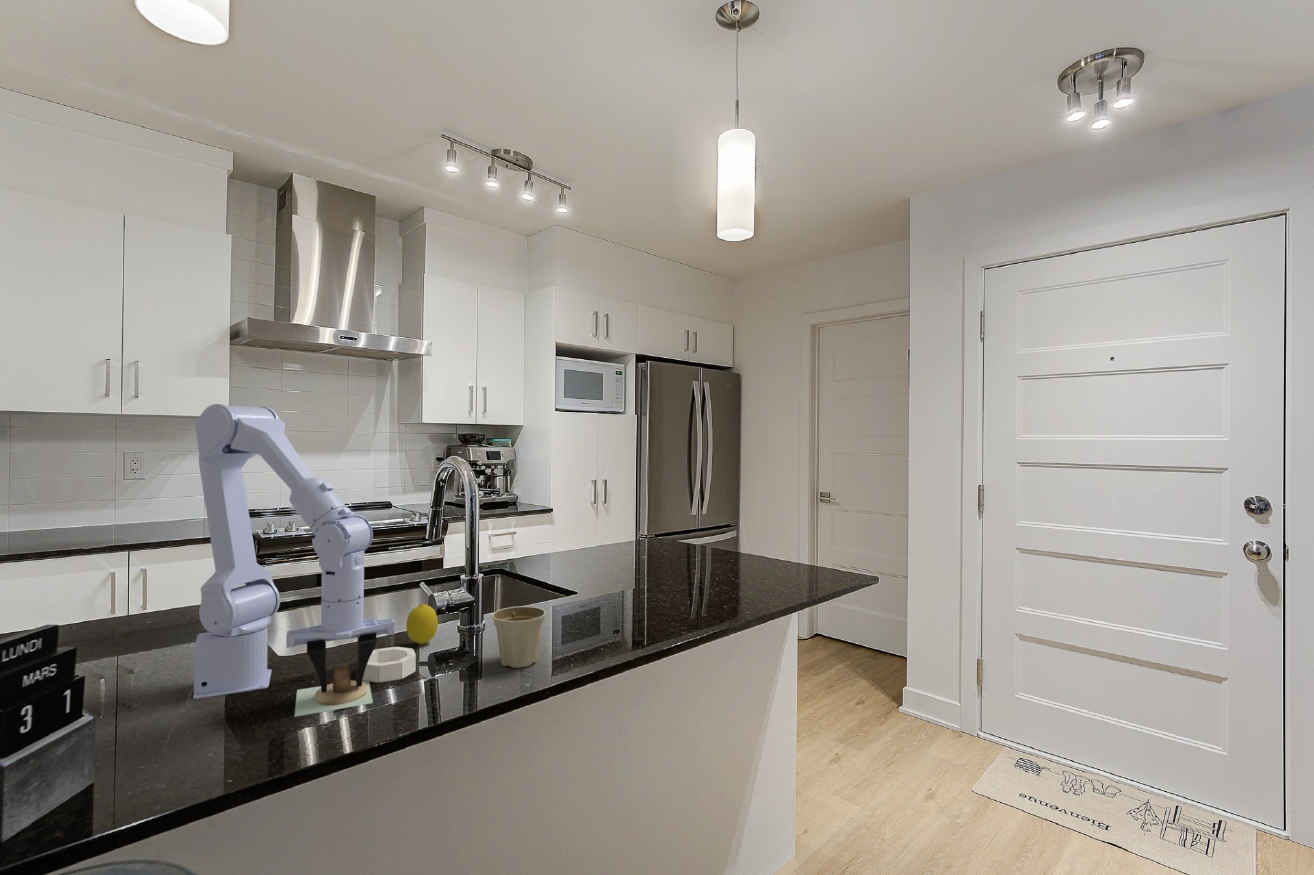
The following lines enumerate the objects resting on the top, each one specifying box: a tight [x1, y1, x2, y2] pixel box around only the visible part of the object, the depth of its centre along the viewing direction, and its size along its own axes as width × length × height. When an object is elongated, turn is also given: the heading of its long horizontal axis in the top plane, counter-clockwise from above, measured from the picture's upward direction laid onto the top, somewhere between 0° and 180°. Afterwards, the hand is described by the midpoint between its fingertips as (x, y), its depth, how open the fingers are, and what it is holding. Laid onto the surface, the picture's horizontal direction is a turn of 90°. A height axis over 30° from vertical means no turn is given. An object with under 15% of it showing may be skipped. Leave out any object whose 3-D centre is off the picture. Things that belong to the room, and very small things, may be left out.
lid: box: [315, 662, 367, 705], centre depth 95 cm, size 7×7×4 cm
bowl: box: [363, 646, 417, 683], centre depth 104 cm, size 8×8×3 cm
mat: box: [294, 680, 374, 718], centre depth 94 cm, size 10×10×1 cm
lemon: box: [406, 602, 439, 646], centre depth 118 cm, size 6×6×8 cm
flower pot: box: [491, 605, 547, 669], centre depth 110 cm, size 9×9×9 cm
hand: (341, 687), depth 95 cm, fingers open, 4 cm apart
